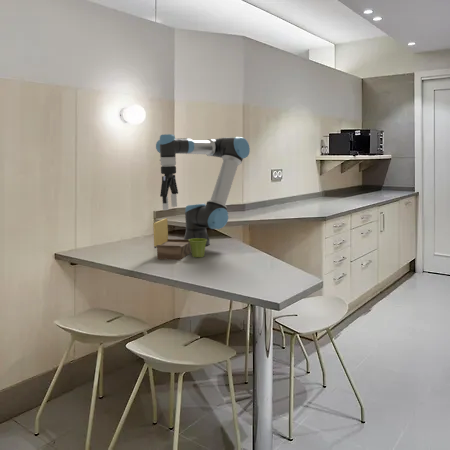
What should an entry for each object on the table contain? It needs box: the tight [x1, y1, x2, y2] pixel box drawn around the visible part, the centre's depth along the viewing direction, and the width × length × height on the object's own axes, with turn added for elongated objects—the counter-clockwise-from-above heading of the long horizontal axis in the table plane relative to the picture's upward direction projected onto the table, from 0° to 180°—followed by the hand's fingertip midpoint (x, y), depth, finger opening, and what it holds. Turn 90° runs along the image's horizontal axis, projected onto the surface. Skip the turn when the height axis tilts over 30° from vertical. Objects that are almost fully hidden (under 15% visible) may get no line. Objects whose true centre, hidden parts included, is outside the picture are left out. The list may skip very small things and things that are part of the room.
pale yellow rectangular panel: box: [152, 218, 169, 249], centre depth 255 cm, size 19×1×12 cm, turn 168°
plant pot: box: [189, 238, 207, 258], centre depth 252 cm, size 9×9×9 cm
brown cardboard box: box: [156, 238, 192, 261], centre depth 254 cm, size 18×12×7 cm, turn 168°
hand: (170, 208), depth 251 cm, fingers open, 13 cm apart
